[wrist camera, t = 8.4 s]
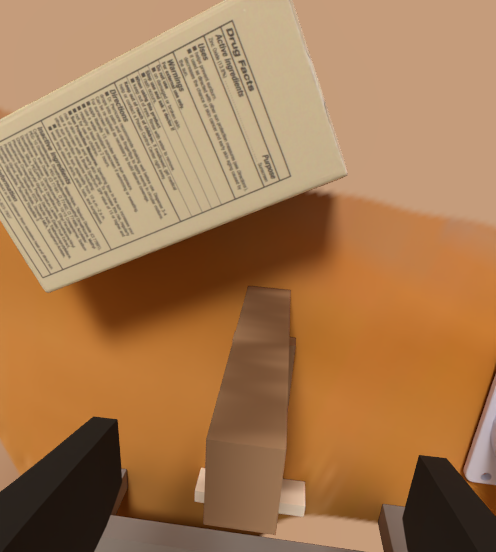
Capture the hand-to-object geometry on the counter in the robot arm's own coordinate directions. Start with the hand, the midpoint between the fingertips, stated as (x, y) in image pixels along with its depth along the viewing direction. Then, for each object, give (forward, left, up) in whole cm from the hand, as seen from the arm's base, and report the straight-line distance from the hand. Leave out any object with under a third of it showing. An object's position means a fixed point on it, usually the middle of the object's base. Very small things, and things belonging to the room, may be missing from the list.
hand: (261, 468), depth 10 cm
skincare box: (+10, -4, -8) cm, 14 cm away
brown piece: (0, +6, -10) cm, 12 cm away
